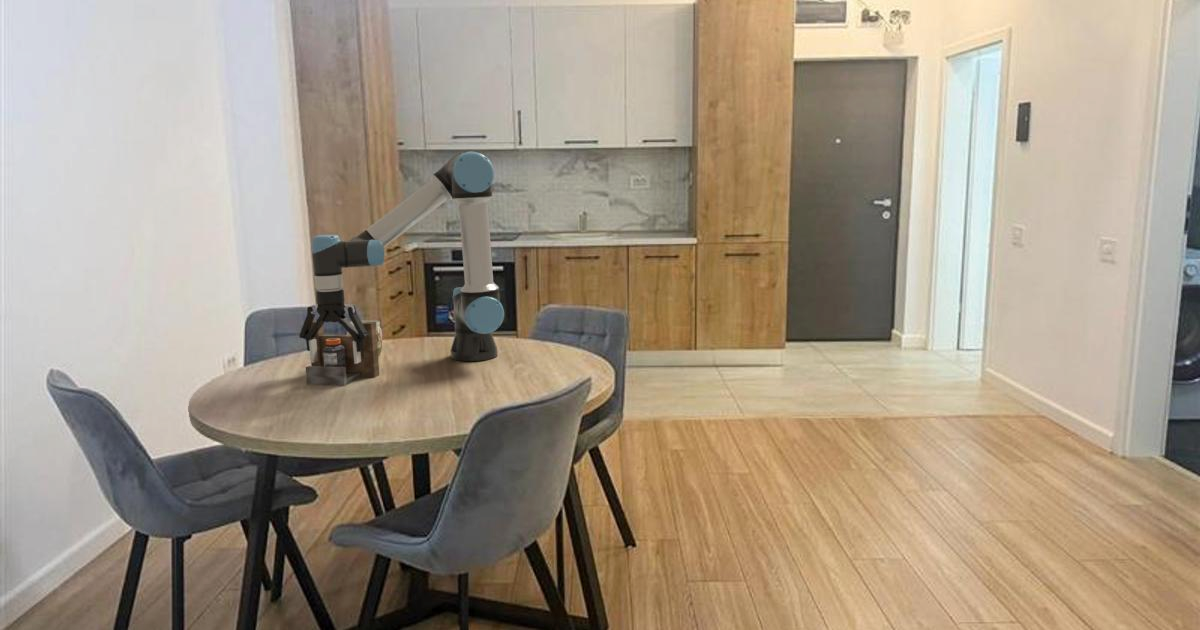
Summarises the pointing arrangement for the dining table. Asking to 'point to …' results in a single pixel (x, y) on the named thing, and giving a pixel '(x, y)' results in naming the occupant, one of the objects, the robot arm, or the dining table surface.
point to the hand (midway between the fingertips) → (336, 362)
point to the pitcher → (379, 335)
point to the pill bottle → (334, 353)
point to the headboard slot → (337, 375)
